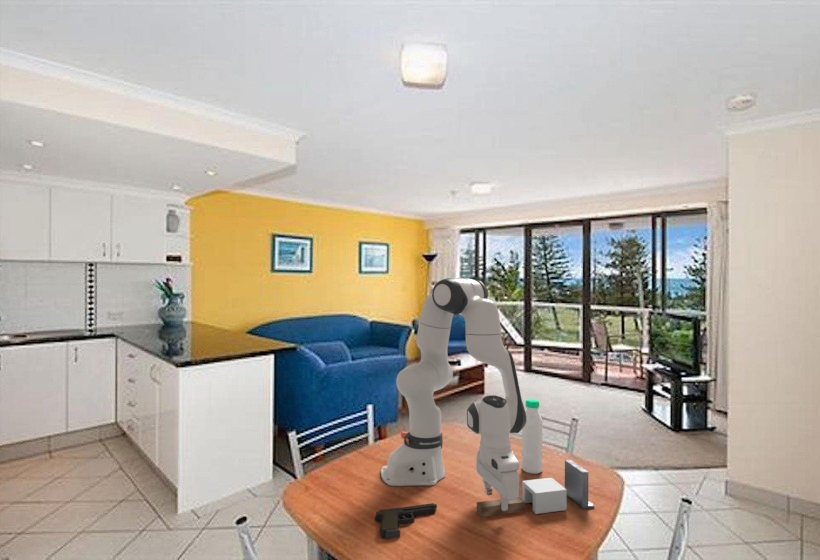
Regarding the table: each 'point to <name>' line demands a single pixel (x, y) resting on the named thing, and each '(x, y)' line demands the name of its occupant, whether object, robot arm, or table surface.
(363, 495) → the table surface
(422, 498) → the table surface
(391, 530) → the handgun
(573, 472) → the wall
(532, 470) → the water bottle
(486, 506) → the walnut bar
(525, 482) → the tunnel block
